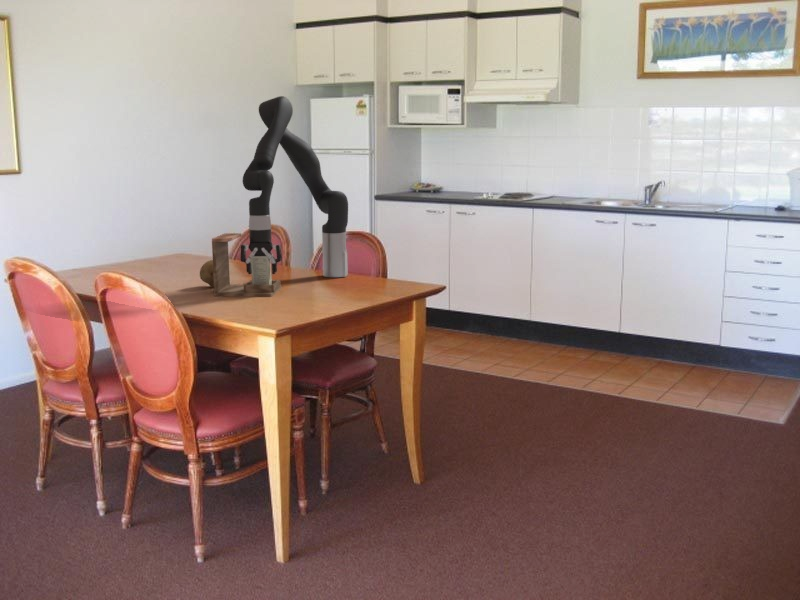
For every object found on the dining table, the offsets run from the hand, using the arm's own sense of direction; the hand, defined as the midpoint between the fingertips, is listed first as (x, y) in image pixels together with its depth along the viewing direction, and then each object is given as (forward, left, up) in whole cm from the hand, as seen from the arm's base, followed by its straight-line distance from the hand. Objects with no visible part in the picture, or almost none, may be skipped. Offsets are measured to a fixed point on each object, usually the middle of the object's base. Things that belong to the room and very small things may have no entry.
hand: (261, 273), depth 312 cm
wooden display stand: (+5, 0, -7) cm, 8 cm away
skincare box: (0, 0, -6) cm, 6 cm away
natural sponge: (+21, -10, -7) cm, 24 cm away
